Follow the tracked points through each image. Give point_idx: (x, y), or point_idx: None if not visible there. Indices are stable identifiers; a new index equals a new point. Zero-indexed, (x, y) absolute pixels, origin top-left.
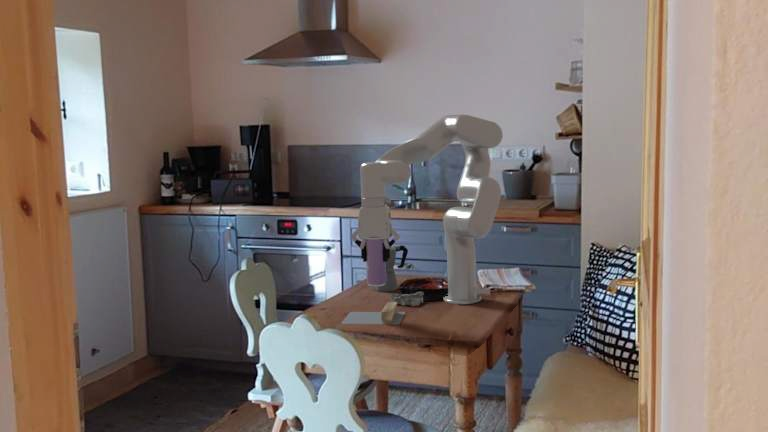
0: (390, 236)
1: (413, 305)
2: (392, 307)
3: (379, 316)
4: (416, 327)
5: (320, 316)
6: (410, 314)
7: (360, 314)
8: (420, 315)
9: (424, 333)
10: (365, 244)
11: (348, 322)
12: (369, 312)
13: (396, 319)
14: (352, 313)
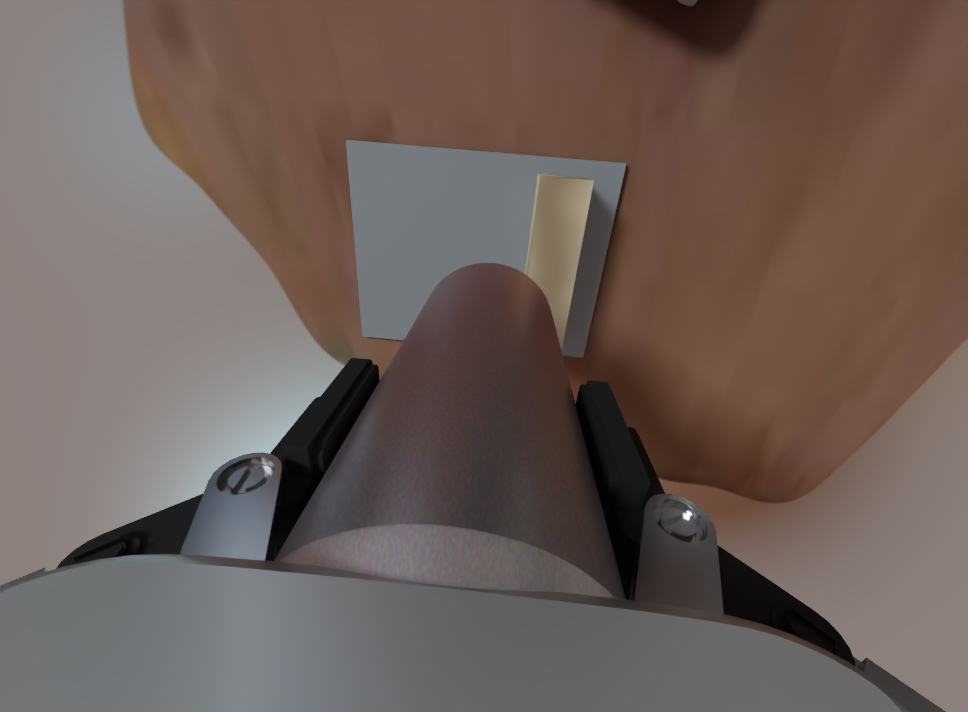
0: (836, 677)
1: (693, 2)
2: (566, 292)
3: (500, 239)
4: (643, 379)
5: (231, 197)
6: (646, 185)
7: (408, 196)
8: (692, 207)
9: (659, 439)
10: (278, 516)
11: (387, 321)
12: (444, 159)
13: (575, 293)
14: (366, 176)
